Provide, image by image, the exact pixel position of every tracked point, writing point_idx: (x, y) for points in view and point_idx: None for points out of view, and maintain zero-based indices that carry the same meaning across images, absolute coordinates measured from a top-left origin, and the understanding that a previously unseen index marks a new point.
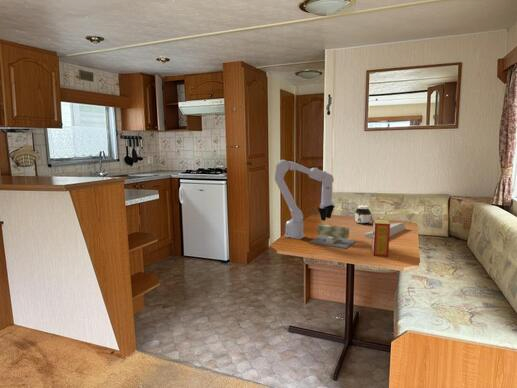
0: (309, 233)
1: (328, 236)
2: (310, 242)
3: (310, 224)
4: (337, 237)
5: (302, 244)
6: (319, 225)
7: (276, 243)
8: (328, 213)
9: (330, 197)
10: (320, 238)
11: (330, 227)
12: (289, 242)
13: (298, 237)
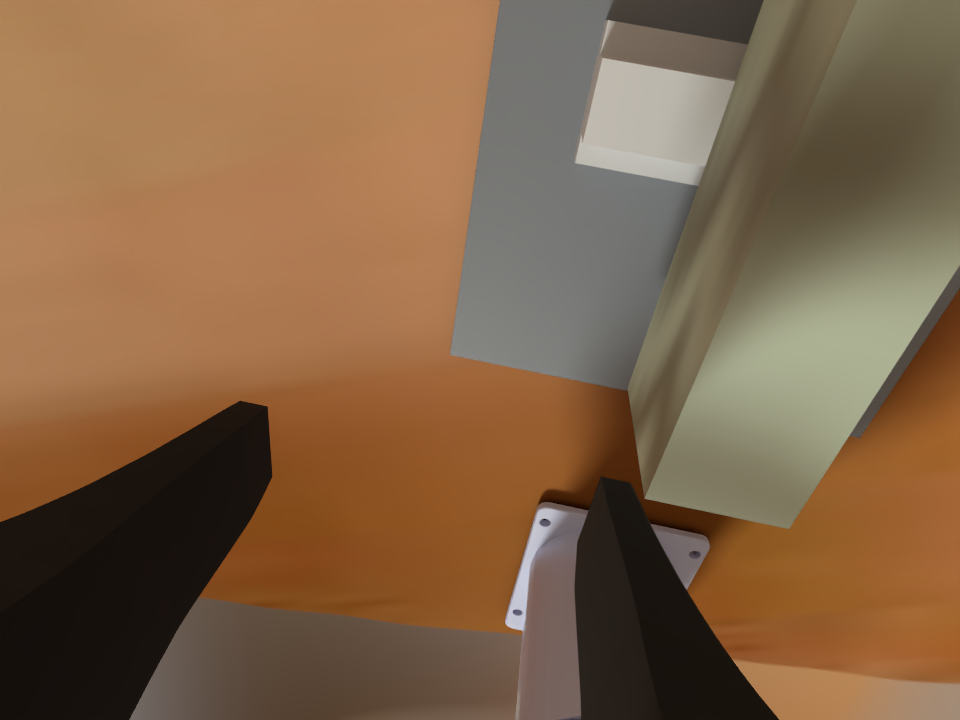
0: (383, 480)
1: (472, 247)
2: (862, 419)
3: (11, 514)
4: (663, 53)
5: (952, 485)
6: (795, 502)
7: (926, 678)
8: (193, 538)
9: None
10: (639, 335)
11: (954, 254)
12: (866, 598)
13: (671, 558)
